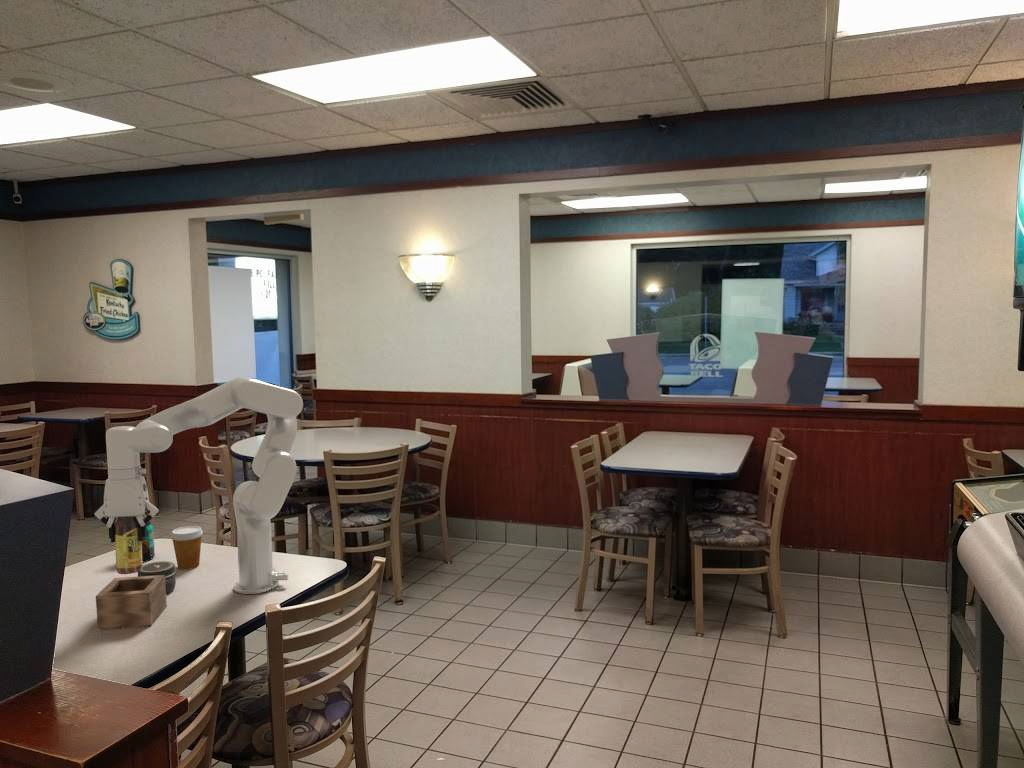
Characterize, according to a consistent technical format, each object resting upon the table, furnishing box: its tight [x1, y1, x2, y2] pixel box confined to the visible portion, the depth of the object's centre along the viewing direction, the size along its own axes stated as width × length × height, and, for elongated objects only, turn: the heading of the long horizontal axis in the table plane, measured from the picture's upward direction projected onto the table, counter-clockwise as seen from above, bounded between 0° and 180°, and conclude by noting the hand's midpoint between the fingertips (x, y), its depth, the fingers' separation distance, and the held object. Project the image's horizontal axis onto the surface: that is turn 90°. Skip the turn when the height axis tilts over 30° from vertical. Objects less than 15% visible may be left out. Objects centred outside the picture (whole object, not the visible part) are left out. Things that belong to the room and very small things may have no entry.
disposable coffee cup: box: [170, 525, 204, 570], centre depth 237 cm, size 10×10×12 cm
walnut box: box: [95, 575, 168, 630], centre depth 198 cm, size 13×13×9 cm
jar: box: [137, 560, 177, 595], centre depth 216 cm, size 10×10×8 cm
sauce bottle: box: [114, 516, 143, 575], centre depth 196 cm, size 7×6×20 cm
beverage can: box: [142, 521, 156, 562], centre depth 245 cm, size 7×7×12 cm
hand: (128, 539), depth 196 cm, fingers closed on sauce bottle, 6 cm apart
